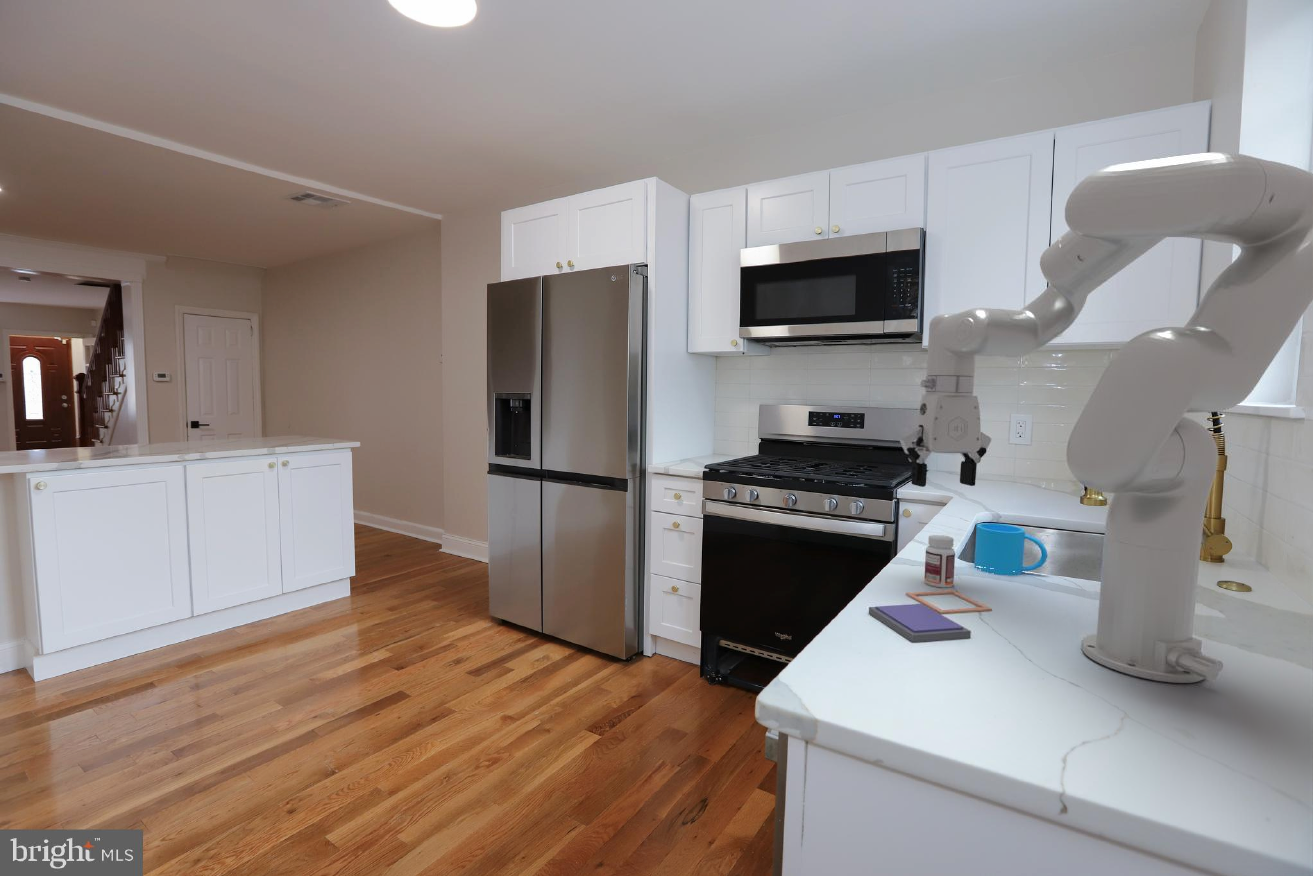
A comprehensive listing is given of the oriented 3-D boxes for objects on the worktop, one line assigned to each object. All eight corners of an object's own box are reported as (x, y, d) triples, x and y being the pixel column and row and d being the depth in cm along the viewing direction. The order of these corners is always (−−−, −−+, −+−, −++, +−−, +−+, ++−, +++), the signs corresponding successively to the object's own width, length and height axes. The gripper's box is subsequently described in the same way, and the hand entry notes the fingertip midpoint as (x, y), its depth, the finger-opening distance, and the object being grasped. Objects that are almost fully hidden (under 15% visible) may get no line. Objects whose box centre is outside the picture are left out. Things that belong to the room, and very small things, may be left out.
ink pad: (970, 638, 87) (971, 628, 87) (912, 642, 85) (913, 633, 85) (921, 610, 98) (921, 602, 98) (868, 613, 96) (869, 605, 96)
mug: (971, 570, 120) (974, 528, 119) (976, 561, 127) (979, 521, 126) (1045, 582, 114) (1048, 537, 113) (1046, 571, 120) (1049, 529, 120)
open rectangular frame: (991, 610, 98) (991, 608, 98) (940, 614, 96) (940, 612, 96) (953, 592, 107) (953, 590, 107) (905, 594, 105) (905, 593, 105)
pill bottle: (947, 580, 114) (950, 534, 113) (957, 588, 109) (960, 541, 108) (920, 579, 114) (922, 533, 113) (928, 587, 109) (931, 540, 109)
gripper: (918, 386, 103) (912, 489, 105) (1008, 388, 107) (1001, 488, 108) (891, 385, 110) (886, 482, 112) (977, 387, 114) (971, 481, 116)
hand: (943, 485), depth 110 cm, fingers open, 9 cm apart
